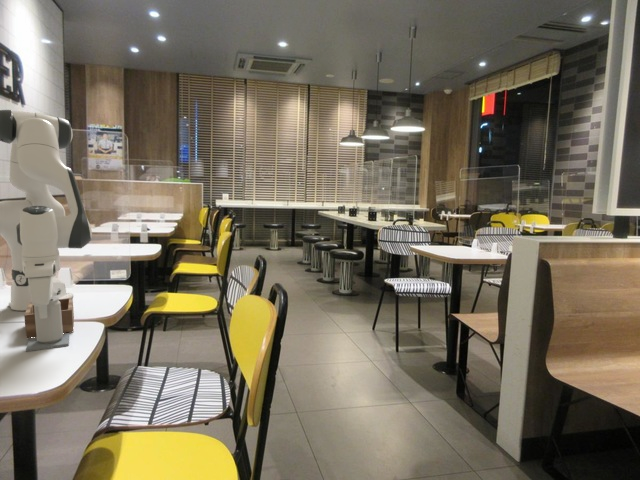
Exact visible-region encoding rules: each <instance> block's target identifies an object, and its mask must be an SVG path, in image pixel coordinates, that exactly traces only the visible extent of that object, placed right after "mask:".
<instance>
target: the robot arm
mask: <svg viewBox="0 0 640 480" xmlns="http://www.w3.org/2000/svg"><path fill="white" fill-rule="evenodd" d="M73 136H74V135H73V128H72V125H71V123H70V122H69V120H68V119H65V118H62V117H59V116H57V117H56V116H52V115H48V114H44V113H41V112H40V113H39V112H29V111H20V110H19V111H17V110H12V109H1V110H0V142H2V143H6V144H11V147H10V156H9V157H10V159H9V160H10V161H9V181H10V184H11V185H12V186H13V188H14V187H15V189H17V190H19V191H22V192H24V193H25V199H19V200H18V199H16V200H15V199H14V200H1V201H0V237H1V238H3V239H4V241H5V242H6V243H7V246H8V248H9V250H10V256H11V257H10V258H11V262H12V269H11V279H12V280H13V281H12V283H11V285H10V301H9V302H8V307H10V309H11V310H13V311H26V310H27V308H28V305H29V303H30V302H32V303H33V305H34V306H38V310H39V316H40V319H44V318H47V316H48V313H47V305H48V304H49V301H50V298H51V297H56V298H59V299H65V298H73V297H74V293H70V292H67V287H66V284H65V282H64V281H62V280H60V279H59V278H57V277H56V273H57V272H59V271H60V270H61V260H60V251H59V249H66V248H67V249H82V248H84V247H86V246H87V245H88V244H89V243H90V242H91V241H92V236H93V231H92V226H91V223H90V221H89V219H88V217H87V214H86V211H85V207H84V204H83V201H82V200H83V199H82V196H81V193H80V190H79V186H78V183H77V180H76V176H75V174H74V172H73V170H72V168H70V167H68V166H66V165H65V163H64V162H63V161H62V159H61V155H60V153H61V152H60V150H63V149H66V148H68V147H69V146H70V144H71V143H72V140H73ZM49 186H51V187H54V188H57V189H58V190H60V191H62V192H63V193H64V196H65V199H66V203H67V206H68V210H69V214H68V215H66V210H65V208H64V206H63V204H62V203H61V202H59V201H58V200H57V199H55V197H54V196H53V195H52V193H51V190H50V187H49Z"/></svg>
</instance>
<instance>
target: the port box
mask: <svg viewBox="0 0 640 480" xmlns="http://www.w3.org/2000/svg"><path fill="white" fill-rule="evenodd" d="M73 300H74V298H73V297H72V298H65V299H59V301H60V303H61V316H62V328H63V333H66V332H71V333H73V332H74V329H73V327H75V313H74V312H75V311H74V301H73ZM23 316H24V318H23V319H24V326H25V327H24V328H25V338H28V339H29V338H31V337H37V335H36V324H35V312H34V305H33V303H32V302H30V303H29V305H28V308H27V310H25V312H24V315H23ZM72 331H73V332H72Z"/></svg>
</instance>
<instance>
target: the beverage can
mask: <svg viewBox="0 0 640 480" xmlns="http://www.w3.org/2000/svg"><path fill="white" fill-rule="evenodd" d="M34 312H35V324H36V335H37V341H39V342H41V343H53V342H57V341H59V340H60V339H61V338H62V337H63V328H62V316H61V303H60V301H59V298H56V297H51V298H50V301H49V304H48V305H47V313H48V316H47V318H44V319H40V316H39V310H38V306H34Z"/></svg>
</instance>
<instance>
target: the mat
mask: <svg viewBox="0 0 640 480" xmlns="http://www.w3.org/2000/svg"><path fill="white" fill-rule="evenodd" d="M69 341H70V333H64V334H63V337H62V338H61V339H60V340H59V341H57V342H53V343H41V342H39V341H37V337H35V338H28V342H27V345H26V348H25V352H26V353H28V352H29V353H30V352H35V351H42V350H47V349H55V348H62V347H68V346H69V344H70V342H69Z"/></svg>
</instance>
